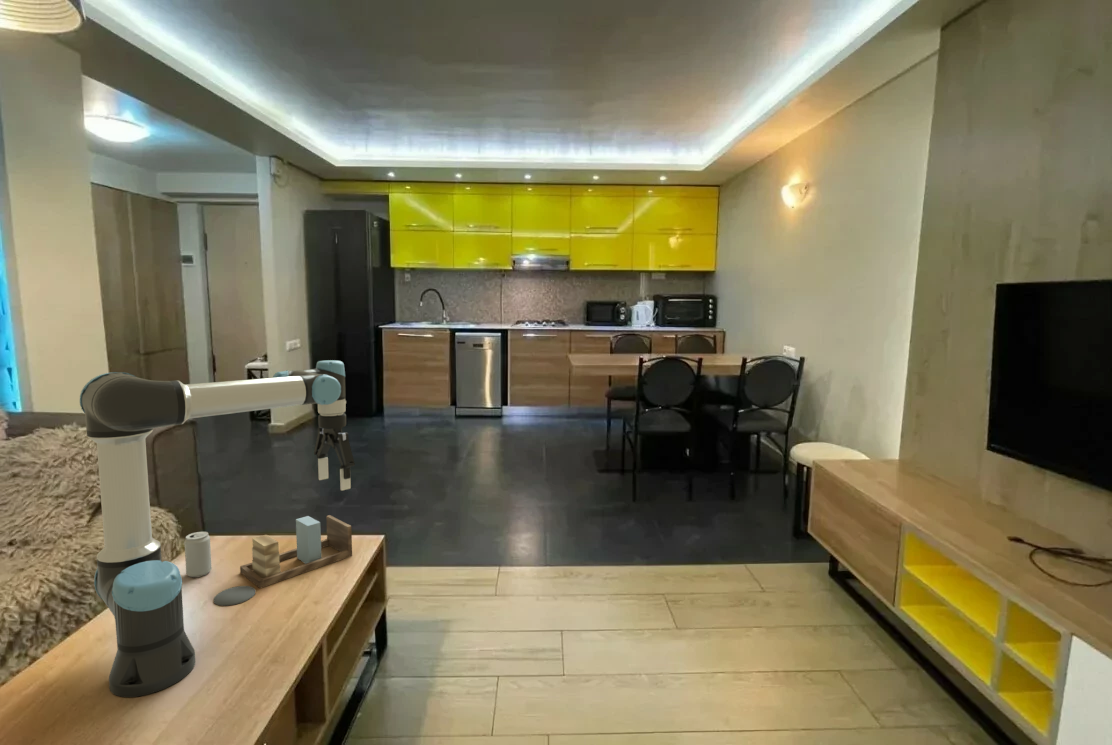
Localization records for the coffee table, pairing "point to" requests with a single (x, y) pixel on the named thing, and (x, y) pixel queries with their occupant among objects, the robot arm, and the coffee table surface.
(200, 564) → the beverage can
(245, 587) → the coaster
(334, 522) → the rack
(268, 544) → the offcut
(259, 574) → the offcut
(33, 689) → the coffee table surface
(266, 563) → the offcut
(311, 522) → the light blue block
